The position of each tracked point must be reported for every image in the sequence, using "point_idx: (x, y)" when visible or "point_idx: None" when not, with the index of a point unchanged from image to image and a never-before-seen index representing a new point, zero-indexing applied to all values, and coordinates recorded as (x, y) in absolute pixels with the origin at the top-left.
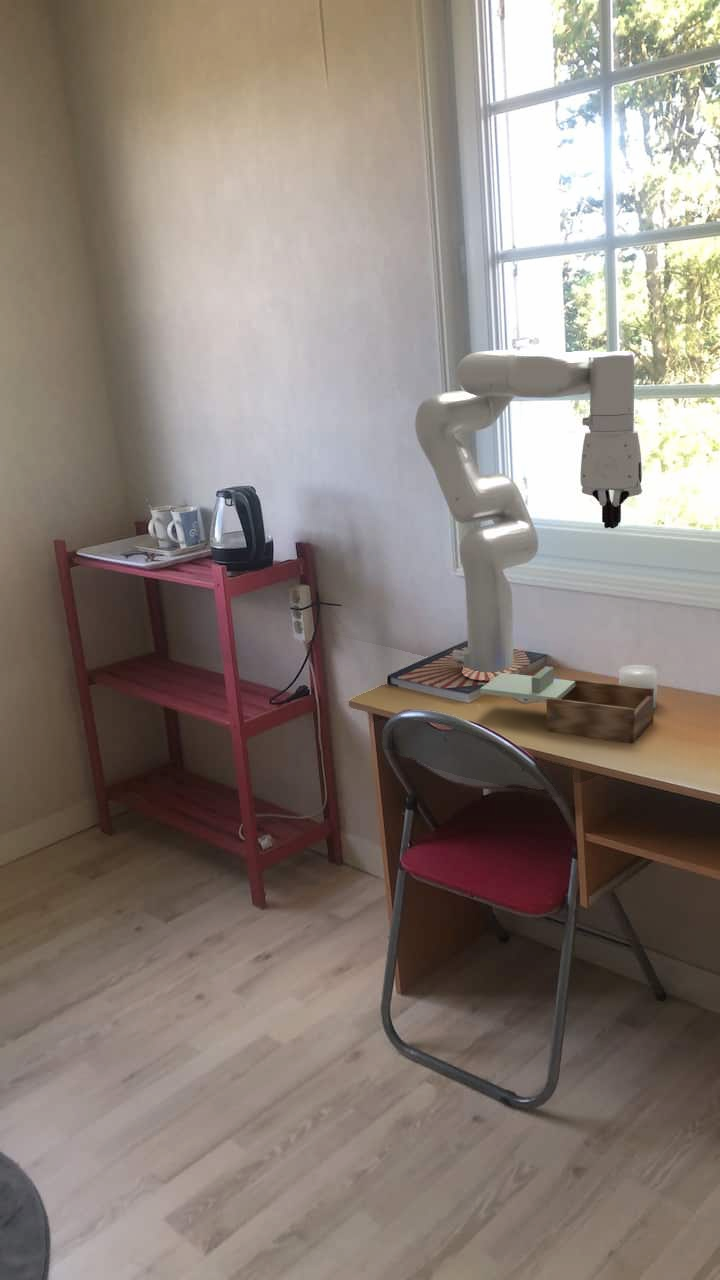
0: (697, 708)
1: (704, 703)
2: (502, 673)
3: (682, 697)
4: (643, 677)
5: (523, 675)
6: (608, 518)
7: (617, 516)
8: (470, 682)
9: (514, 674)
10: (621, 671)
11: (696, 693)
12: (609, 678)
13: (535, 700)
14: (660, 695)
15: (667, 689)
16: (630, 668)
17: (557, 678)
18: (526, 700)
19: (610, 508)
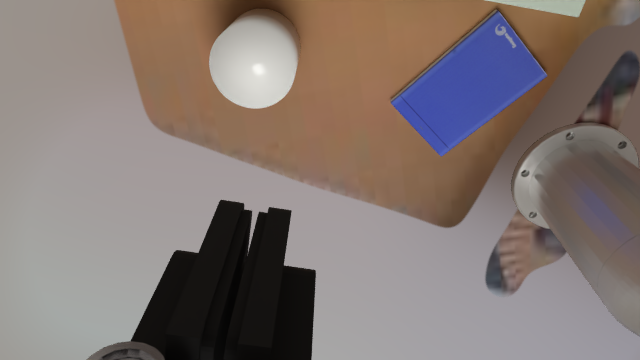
0: (149, 49)
1: (145, 80)
2: (576, 9)
3: (191, 105)
4: (232, 26)
5: (521, 3)
6: (248, 257)
7: (166, 282)
8: (615, 117)
9: (544, 7)
10: (287, 52)
11: (172, 131)
12: (340, 182)
13: (473, 29)
14: (232, 109)
15: (227, 143)
16: (271, 78)
17: (437, 147)
18: (493, 14)
19: (201, 320)
